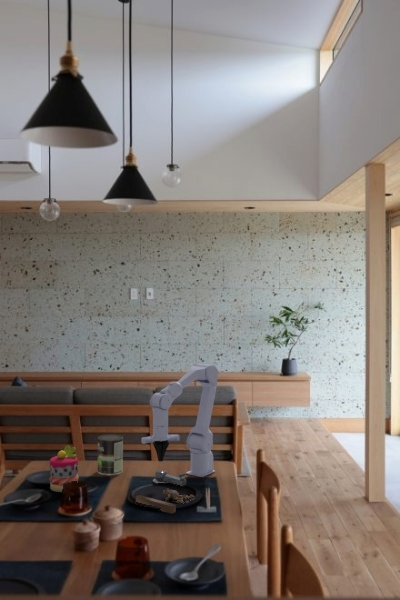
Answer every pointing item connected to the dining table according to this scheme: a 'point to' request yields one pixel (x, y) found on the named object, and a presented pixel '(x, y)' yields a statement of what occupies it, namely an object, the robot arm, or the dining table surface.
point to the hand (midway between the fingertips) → (160, 460)
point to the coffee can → (110, 454)
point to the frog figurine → (175, 495)
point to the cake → (63, 468)
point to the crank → (170, 478)
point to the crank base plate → (159, 481)
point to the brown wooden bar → (157, 504)
